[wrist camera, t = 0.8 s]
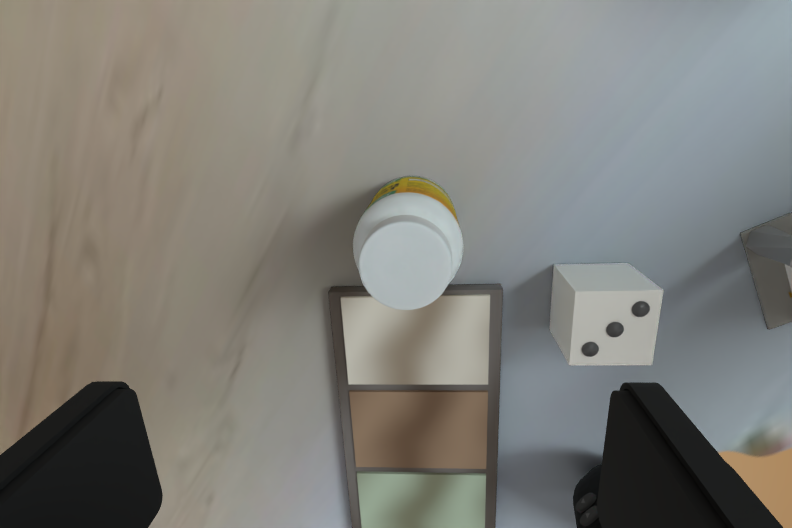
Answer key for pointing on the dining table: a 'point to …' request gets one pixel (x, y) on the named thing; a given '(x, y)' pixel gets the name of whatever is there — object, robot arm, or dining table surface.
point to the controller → (587, 500)
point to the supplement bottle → (408, 243)
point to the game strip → (420, 406)
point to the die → (604, 314)
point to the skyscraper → (772, 267)
